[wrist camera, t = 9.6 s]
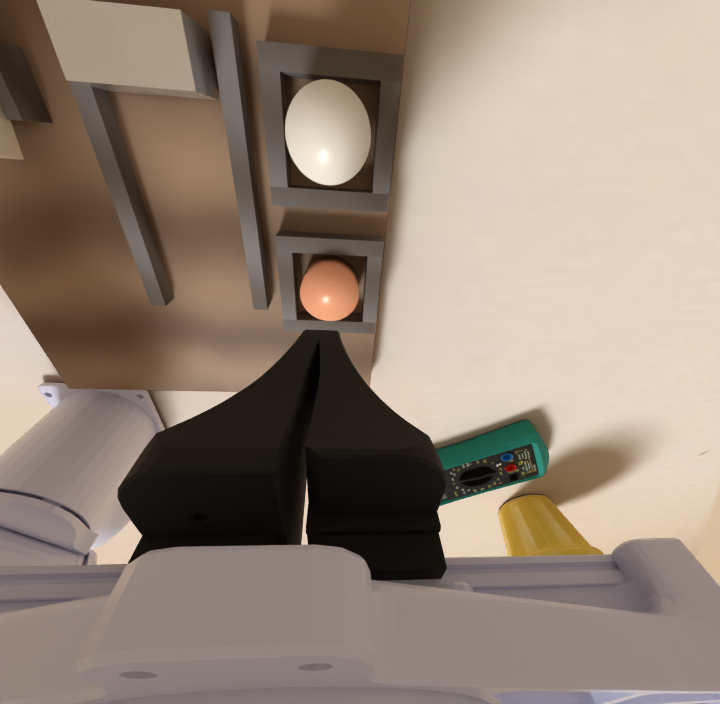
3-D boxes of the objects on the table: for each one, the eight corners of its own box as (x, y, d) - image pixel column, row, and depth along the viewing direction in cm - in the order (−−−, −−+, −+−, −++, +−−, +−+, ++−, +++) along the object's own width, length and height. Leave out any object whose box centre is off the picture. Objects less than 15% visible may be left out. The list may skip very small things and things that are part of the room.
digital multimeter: (540, 453, 32) (556, 478, 30) (414, 491, 36) (419, 516, 33) (531, 412, 29) (548, 436, 26) (390, 458, 32) (394, 484, 29)
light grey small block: (219, 100, 13) (195, 91, 11) (110, 91, 12) (66, 80, 10) (208, 33, 12) (180, 9, 10) (89, 21, 11) (34, -6, 9)
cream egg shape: (365, 183, 14) (367, 187, 12) (294, 178, 13) (288, 182, 12) (371, 91, 12) (374, 83, 10) (289, 84, 12) (281, 75, 10)
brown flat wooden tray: (367, 377, 25) (370, 408, 22) (88, 371, 23) (52, 403, 20) (407, -32, 12) (426, -88, 9) (-188, -102, 11) (-382, -194, 8)
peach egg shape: (356, 308, 19) (357, 322, 17) (304, 306, 18) (301, 320, 17) (359, 257, 17) (360, 267, 15) (302, 254, 17) (298, 264, 15)
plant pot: (582, 502, 38) (646, 597, 30) (513, 533, 42) (553, 624, 34) (538, 474, 34) (598, 575, 26) (467, 512, 38) (500, 609, 30)
